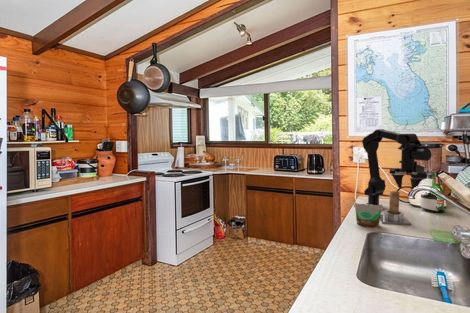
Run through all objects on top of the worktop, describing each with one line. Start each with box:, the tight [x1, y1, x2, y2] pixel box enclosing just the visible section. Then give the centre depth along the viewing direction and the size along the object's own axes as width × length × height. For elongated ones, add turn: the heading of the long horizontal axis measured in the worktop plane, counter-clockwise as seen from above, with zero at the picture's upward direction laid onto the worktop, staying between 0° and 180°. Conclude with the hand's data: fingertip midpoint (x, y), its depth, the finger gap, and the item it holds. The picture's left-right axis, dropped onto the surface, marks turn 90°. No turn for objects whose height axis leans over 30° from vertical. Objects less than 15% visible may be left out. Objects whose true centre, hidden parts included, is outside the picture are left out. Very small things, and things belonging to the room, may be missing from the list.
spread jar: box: [419, 188, 441, 213], centre depth 164 cm, size 12×11×12 cm
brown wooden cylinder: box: [388, 190, 400, 214], centre depth 146 cm, size 4×4×13 cm
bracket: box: [379, 209, 412, 226], centre depth 146 cm, size 12×12×4 cm
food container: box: [353, 201, 384, 228], centre depth 138 cm, size 12×6×10 cm, turn 70°
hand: (406, 190), depth 153 cm, fingers open, 9 cm apart
